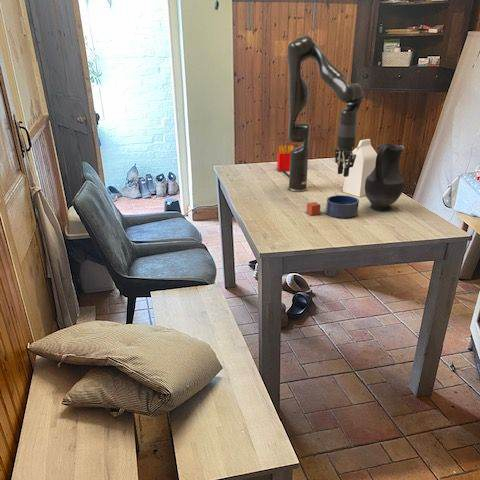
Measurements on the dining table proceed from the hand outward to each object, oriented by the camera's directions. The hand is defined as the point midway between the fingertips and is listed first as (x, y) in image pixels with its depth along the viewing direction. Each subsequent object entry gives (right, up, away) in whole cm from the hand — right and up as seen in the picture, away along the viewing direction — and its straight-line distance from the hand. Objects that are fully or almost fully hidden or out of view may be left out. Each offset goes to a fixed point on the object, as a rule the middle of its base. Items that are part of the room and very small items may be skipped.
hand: (342, 174), depth 222 cm
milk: (+16, +2, +37) cm, 40 cm away
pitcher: (+20, -13, +12) cm, 27 cm away
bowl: (+1, -16, +7) cm, 17 cm away
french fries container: (-19, +26, +78) cm, 84 cm away
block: (-12, -16, +8) cm, 21 cm away
